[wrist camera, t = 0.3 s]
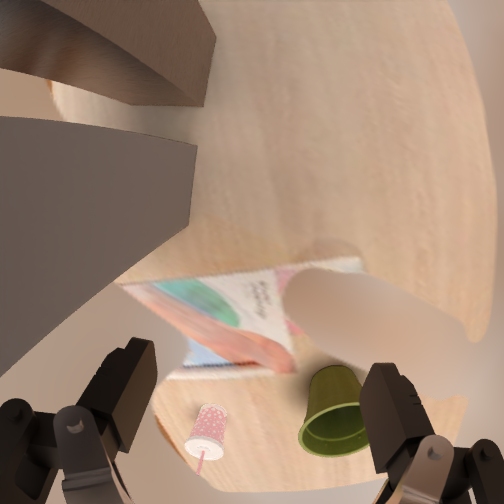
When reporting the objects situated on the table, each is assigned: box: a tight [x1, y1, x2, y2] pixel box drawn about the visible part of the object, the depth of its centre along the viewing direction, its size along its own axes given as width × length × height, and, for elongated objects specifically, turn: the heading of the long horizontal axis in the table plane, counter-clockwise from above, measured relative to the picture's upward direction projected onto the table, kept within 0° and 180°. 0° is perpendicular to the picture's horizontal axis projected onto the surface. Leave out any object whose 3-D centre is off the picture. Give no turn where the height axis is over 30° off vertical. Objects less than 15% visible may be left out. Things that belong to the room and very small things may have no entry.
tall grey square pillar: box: [0, 116, 197, 377], centre depth 20 cm, size 10×10×32 cm
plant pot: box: [298, 366, 370, 457], centre depth 37 cm, size 12×12×11 cm
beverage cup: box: [185, 403, 227, 476], centre depth 40 cm, size 6×6×14 cm
